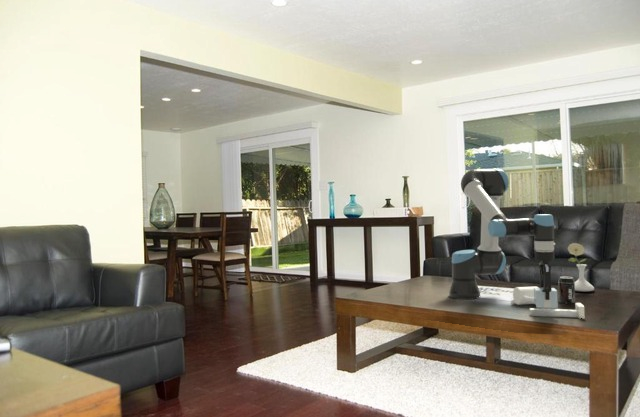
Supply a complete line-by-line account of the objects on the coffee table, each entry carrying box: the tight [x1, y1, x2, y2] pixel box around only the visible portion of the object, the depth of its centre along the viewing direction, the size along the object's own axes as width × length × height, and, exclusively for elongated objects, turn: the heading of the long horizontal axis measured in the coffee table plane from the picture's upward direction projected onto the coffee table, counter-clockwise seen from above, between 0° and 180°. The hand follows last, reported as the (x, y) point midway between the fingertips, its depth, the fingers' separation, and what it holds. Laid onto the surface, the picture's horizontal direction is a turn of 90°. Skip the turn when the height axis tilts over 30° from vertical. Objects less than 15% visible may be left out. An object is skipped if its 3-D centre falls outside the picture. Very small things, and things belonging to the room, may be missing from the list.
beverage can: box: [557, 275, 576, 305], centre depth 232 cm, size 7×7×12 cm
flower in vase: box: [567, 242, 595, 293], centre depth 259 cm, size 13×11×25 cm
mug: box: [512, 286, 539, 306], centre depth 230 cm, size 12×10×8 cm
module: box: [533, 287, 559, 309], centre depth 209 cm, size 8×7×8 cm
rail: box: [529, 302, 586, 320], centre depth 208 cm, size 20×7×5 cm, turn 73°
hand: (545, 305), depth 209 cm, fingers closed on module, 7 cm apart
